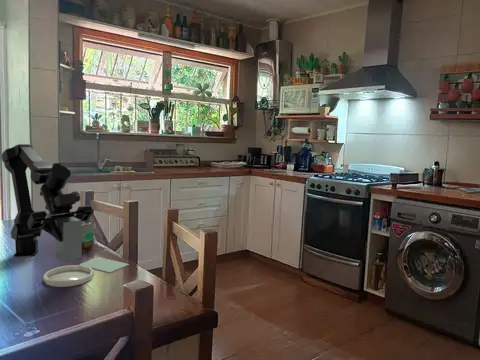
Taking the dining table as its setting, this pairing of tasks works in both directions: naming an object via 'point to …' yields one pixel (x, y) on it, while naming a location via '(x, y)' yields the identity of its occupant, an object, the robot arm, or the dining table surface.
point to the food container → (87, 234)
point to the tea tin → (69, 239)
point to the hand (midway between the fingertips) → (70, 239)
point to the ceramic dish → (68, 275)
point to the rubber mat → (104, 264)
